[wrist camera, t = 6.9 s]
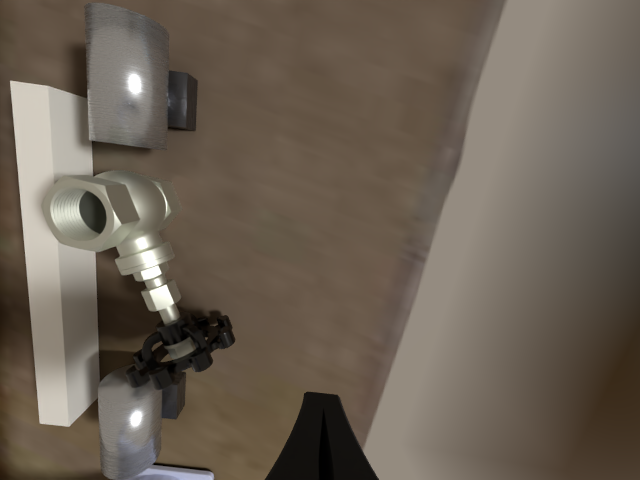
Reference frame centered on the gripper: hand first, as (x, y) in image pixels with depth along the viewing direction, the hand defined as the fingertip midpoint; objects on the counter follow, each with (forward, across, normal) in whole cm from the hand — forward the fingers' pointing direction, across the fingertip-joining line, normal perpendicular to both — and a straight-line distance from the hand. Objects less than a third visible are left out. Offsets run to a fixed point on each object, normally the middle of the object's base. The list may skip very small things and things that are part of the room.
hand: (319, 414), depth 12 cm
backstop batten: (+10, +17, -1) cm, 20 cm away
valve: (+11, +11, -2) cm, 15 cm away
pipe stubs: (+10, +12, -2) cm, 16 cm away
